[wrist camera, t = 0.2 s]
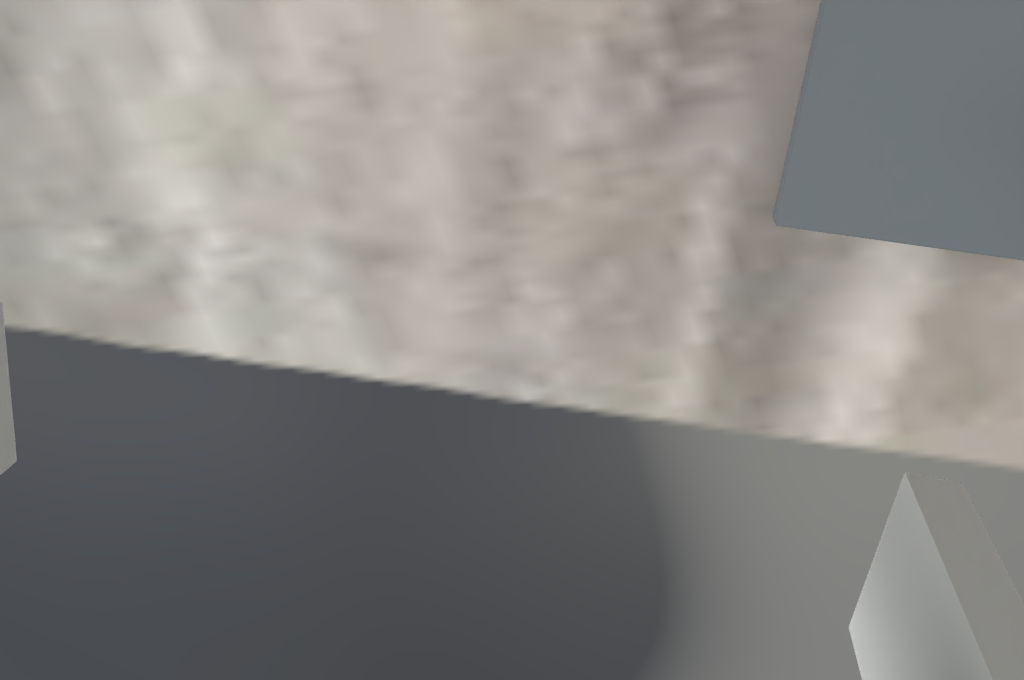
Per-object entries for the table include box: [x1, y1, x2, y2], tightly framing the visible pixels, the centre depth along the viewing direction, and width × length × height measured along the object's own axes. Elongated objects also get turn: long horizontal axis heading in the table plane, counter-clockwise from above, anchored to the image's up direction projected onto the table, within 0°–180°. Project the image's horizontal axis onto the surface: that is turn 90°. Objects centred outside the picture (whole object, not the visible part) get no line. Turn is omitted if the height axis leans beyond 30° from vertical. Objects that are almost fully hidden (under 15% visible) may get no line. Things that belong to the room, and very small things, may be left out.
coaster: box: [773, 0, 1024, 260], centre depth 36 cm, size 14×14×1 cm
